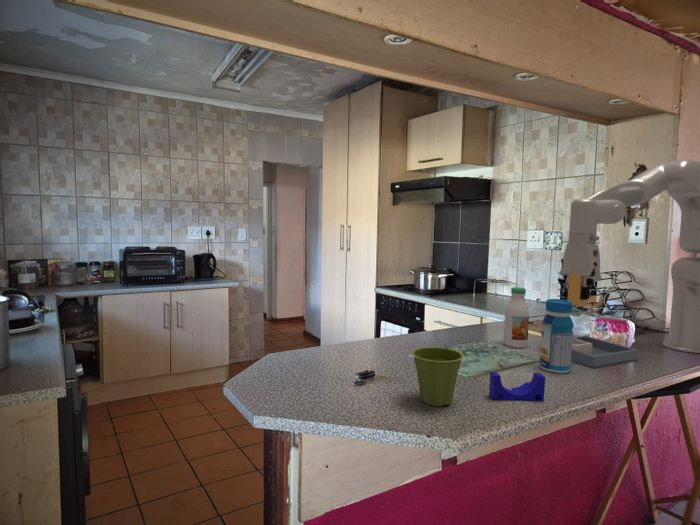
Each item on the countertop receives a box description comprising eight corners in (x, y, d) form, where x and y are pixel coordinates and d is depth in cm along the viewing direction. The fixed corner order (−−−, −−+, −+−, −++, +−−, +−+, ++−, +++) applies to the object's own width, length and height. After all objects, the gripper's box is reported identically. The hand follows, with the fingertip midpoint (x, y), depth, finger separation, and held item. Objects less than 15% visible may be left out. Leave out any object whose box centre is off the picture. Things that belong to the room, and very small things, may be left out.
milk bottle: (501, 346, 150) (504, 288, 148) (505, 341, 156) (508, 285, 155) (526, 349, 146) (529, 290, 144) (528, 344, 153) (531, 287, 151)
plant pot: (454, 391, 108) (456, 346, 107) (468, 411, 97) (470, 361, 96) (406, 390, 108) (408, 345, 107) (414, 411, 96) (416, 361, 95)
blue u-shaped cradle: (535, 394, 108) (537, 370, 107) (543, 401, 103) (545, 377, 103) (487, 393, 108) (488, 369, 107) (492, 400, 104) (494, 376, 103)
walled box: (584, 345, 153) (585, 331, 152) (636, 360, 136) (638, 345, 136) (542, 351, 144) (543, 336, 144) (593, 368, 128) (594, 351, 128)
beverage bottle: (563, 376, 121) (568, 304, 119) (533, 368, 127) (537, 300, 126) (575, 369, 127) (580, 301, 125) (546, 362, 133) (550, 297, 131)
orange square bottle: (576, 303, 140) (578, 265, 139) (587, 305, 136) (590, 267, 135) (567, 303, 138) (569, 266, 137) (578, 306, 135) (581, 267, 134)
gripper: (616, 240, 130) (611, 302, 131) (567, 238, 145) (563, 293, 146) (599, 240, 126) (594, 303, 128) (550, 238, 142) (547, 294, 143)
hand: (577, 297), depth 137 cm, fingers closed on orange square bottle, 4 cm apart
